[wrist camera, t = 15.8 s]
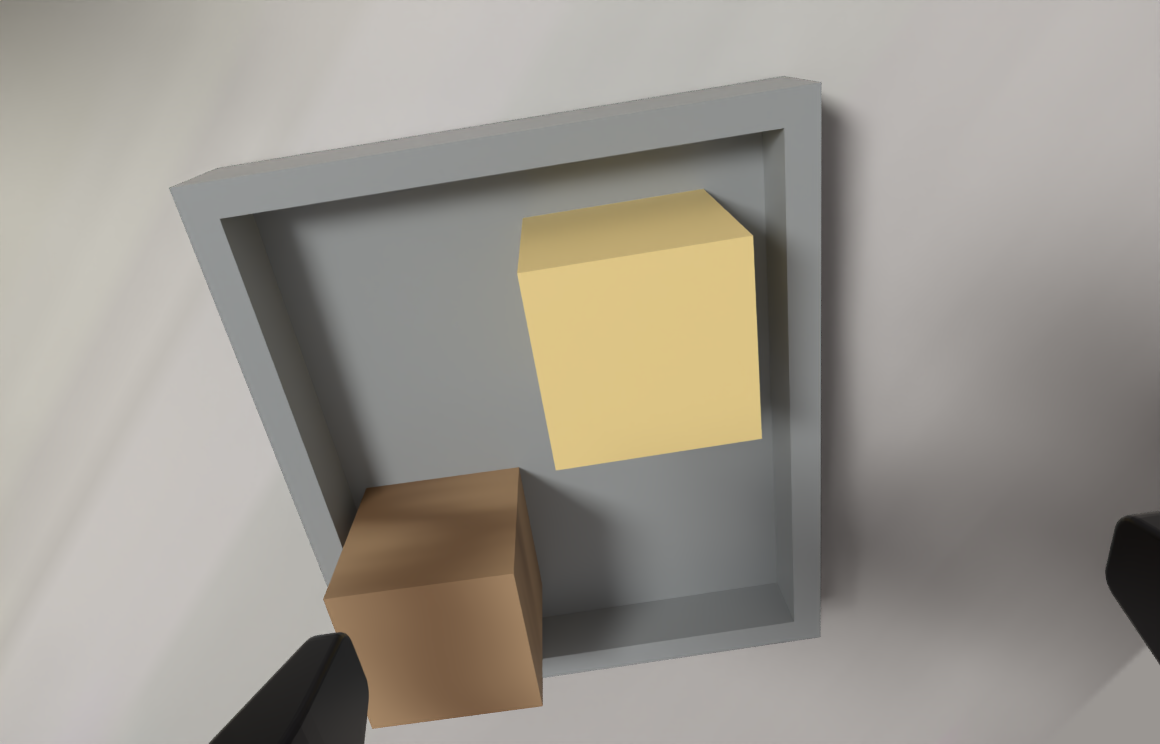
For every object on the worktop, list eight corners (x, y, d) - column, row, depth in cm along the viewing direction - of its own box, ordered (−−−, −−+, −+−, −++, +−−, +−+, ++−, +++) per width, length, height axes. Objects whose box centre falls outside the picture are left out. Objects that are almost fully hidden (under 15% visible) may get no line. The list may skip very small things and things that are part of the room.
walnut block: (403, 603, 22) (372, 728, 18) (366, 488, 21) (323, 599, 16) (542, 585, 22) (542, 706, 18) (518, 467, 21) (513, 573, 16)
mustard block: (553, 379, 19) (556, 470, 15) (522, 218, 17) (517, 273, 13) (715, 353, 19) (761, 438, 15) (703, 188, 17) (752, 235, 13)
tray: (389, 640, 24) (373, 702, 22) (217, 168, 17) (168, 187, 15) (794, 580, 24) (820, 636, 22) (784, 76, 17) (821, 82, 15)
